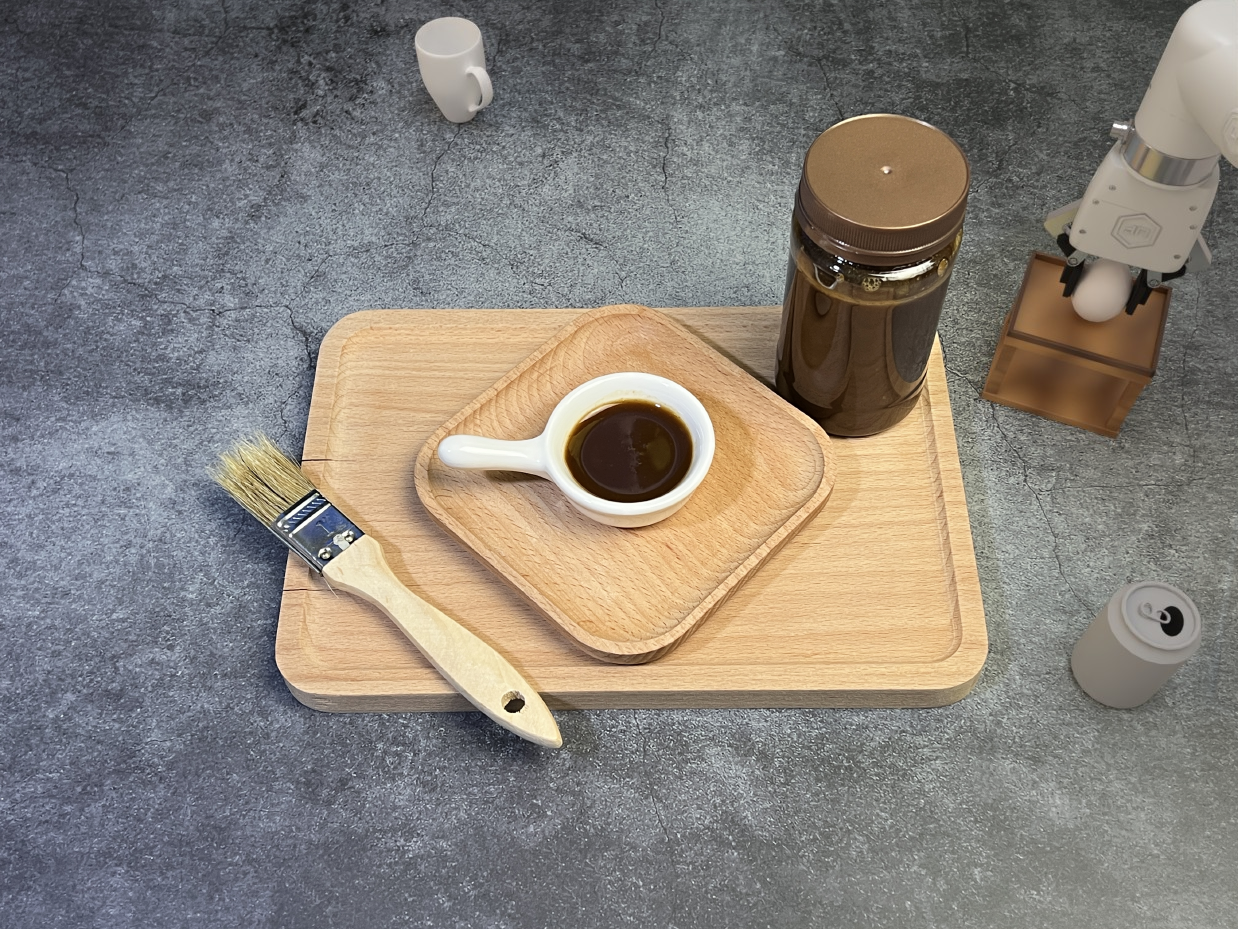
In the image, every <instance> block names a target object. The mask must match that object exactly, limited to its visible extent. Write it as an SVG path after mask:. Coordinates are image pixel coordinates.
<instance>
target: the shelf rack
mask: <svg viewBox="0 0 1238 929" xmlns="http://www.w3.org/2000/svg"><path fill="white" fill-rule="evenodd" d="M1066 260H1067V258H1066V257H1061V256H1058V255H1054V254H1050V253H1046V252H1043V251H1039V250H1036V249H1033V250H1032V252H1031V254H1030V257H1029V260H1028V262H1027V265H1026V268H1025V271H1024V275H1023V278H1022V281H1021V284H1020V287H1019V289H1018V292H1017V294H1016V297H1015V298H1014V301H1013V303H1012V306H1011V309H1010V312H1009V313H1007V314H1006V316H1005V319H1004V321H1003V324H1002V328H1001V331H1000V335H999V336H998V337H999V338H998V341H997V344H996V348H995V351H994V354H993V357H992V360H991V363H990V366H989V369H988V373H987V376H986V379H985V382H984V386H983V389H982V392H981V395H980V398H981V399H982V400H987V401H988V402H989V401H990V402H993V403H996V404H1000V405H1002V406H1005V407H1009V408H1012V409H1015V410H1020V411H1022V412H1025V413H1029V414H1032V415H1035V416H1039V417H1042V418H1046V419H1048V420H1051V421H1054V422H1058V423H1061V424H1065V425H1068V426H1071V427H1074V428H1078V429H1081V430H1085V431H1088V432H1091V433H1094V434H1097V435H1102V436H1105V437H1107V438H1110V439H1115V440H1116V439H1117V438H1118V436H1119V434H1120V430H1121V426H1122V424H1123V423H1124V422H1125V420H1126V418H1127V416H1128V414H1129V413H1130V411H1131V410H1132V408H1133V406H1134V405H1135V403H1136V401H1137V400H1138V398H1139V397H1140V395H1141V394H1142V391H1143V389H1145V387H1147V386H1149V385H1150V384H1151V382H1152V380H1153V378H1154V377H1155V375H1156V373H1157V370H1158V369H1157V368H1158V364H1159V359H1160V355H1161V350H1162V349H1161V348H1162V345H1163V339H1164V335H1165V329H1166V324H1167V319H1168V315H1169V314H1168V313H1169V310H1170V305H1171V300H1172V296H1173V291H1174V287H1173V286H1169V285H1166V284H1163V283H1161V285H1160V287H1158V288H1154V289H1153V291H1152V293H1151V294H1150V296H1149V298H1148V300H1147V302H1146V304H1145V305H1140V304H1138V306H1137V308H1136V309H1135V311H1134V313H1133V315H1132V316H1131V315H1128V314H1126V312H1125V309H1126V306H1125V308H1124V309H1123V310H1122V311H1121V312H1120V313H1119V314H1118V315H1117V316H1115V317H1113V318H1111V319H1109V320H1106V321H1102V322H1092V321H1088V320H1086V319H1083V318H1082V317H1081V316H1080V315H1079V314H1078V313H1077V312H1076V311H1075V309H1074V306H1073V304H1072V298H1071V296H1070V297H1068V298H1066V297H1063V296H1062V295H1063V291H1064V288H1065V284H1064V283H1060V282H1059V281H1060V278H1061V275H1062V272H1063V269H1064V267H1065V265H1066V263H1067V262H1066ZM1088 265H1089V264H1088V263H1084V266H1083V269H1084V268H1085V267H1086V266H1088ZM1136 279H1137V277H1136V276H1132V280H1133V285H1134V283H1135V281H1136Z"/></svg>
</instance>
